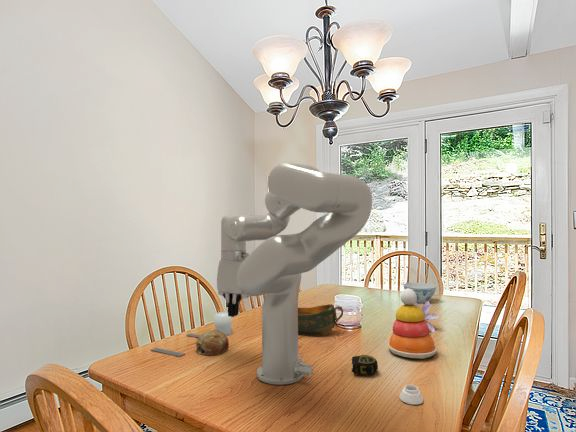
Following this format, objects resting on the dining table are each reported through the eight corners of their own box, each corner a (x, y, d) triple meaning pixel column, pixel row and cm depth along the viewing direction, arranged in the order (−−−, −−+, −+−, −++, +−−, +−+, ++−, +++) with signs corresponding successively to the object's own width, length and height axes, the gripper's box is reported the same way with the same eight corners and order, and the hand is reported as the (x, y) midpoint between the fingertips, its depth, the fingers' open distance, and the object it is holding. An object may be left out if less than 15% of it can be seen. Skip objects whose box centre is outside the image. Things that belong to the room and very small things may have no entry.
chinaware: (397, 299, 183) (397, 283, 183) (422, 296, 187) (422, 281, 187) (416, 305, 169) (416, 289, 169) (443, 303, 173) (443, 287, 173)
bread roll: (193, 362, 115) (185, 342, 112) (212, 339, 123) (205, 320, 120) (218, 368, 110) (211, 347, 107) (237, 343, 118) (230, 324, 115)
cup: (234, 332, 133) (234, 312, 133) (224, 336, 127) (224, 316, 127) (221, 329, 135) (221, 311, 136) (211, 334, 130) (211, 314, 130)
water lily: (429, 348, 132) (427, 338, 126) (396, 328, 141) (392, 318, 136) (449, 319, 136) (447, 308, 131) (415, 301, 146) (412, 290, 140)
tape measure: (351, 366, 101) (351, 353, 101) (377, 368, 100) (376, 354, 100) (351, 377, 94) (351, 363, 94) (378, 379, 93) (378, 364, 93)
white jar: (395, 399, 83) (414, 408, 79) (395, 386, 83) (414, 395, 79) (408, 393, 86) (427, 401, 82) (408, 380, 86) (427, 388, 82)
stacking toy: (440, 349, 113) (439, 286, 114) (432, 365, 101) (431, 295, 101) (394, 341, 121) (393, 283, 121) (381, 356, 108) (381, 290, 109)
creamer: (324, 343, 120) (324, 312, 120) (279, 331, 133) (279, 304, 133) (345, 333, 129) (345, 305, 130) (301, 323, 142) (301, 297, 142)
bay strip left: (184, 354, 111) (184, 353, 111) (180, 357, 109) (180, 356, 109) (156, 348, 116) (155, 347, 116) (151, 350, 114) (151, 349, 114)
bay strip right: (217, 338, 125) (217, 338, 125) (213, 340, 123) (213, 339, 123) (190, 334, 131) (190, 333, 131) (186, 335, 129) (186, 335, 129)
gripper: (260, 256, 111) (260, 315, 112) (221, 253, 118) (220, 309, 118) (247, 258, 105) (247, 322, 105) (206, 255, 111) (205, 315, 112)
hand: (233, 315), depth 112 cm, fingers closed
